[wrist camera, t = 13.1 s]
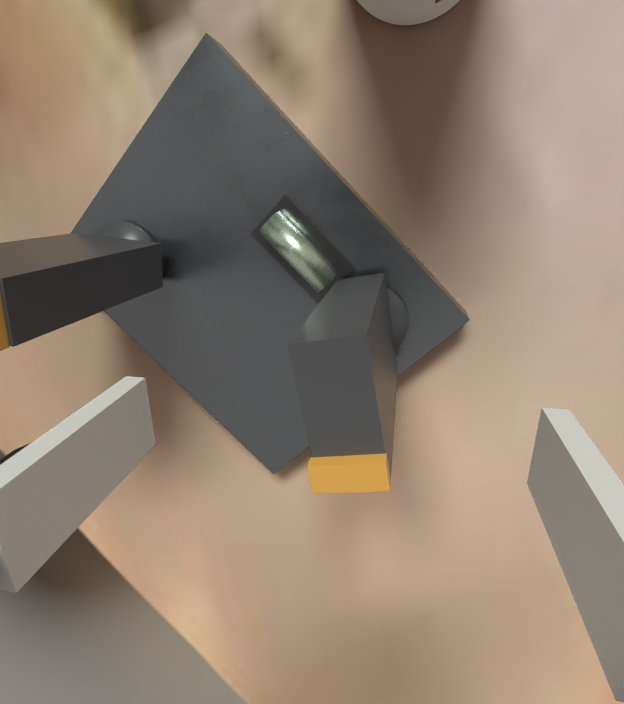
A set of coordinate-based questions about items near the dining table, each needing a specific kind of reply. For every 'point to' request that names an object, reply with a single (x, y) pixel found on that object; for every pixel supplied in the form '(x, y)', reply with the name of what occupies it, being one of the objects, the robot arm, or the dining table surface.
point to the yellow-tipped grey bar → (73, 277)
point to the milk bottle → (407, 10)
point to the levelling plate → (249, 250)
